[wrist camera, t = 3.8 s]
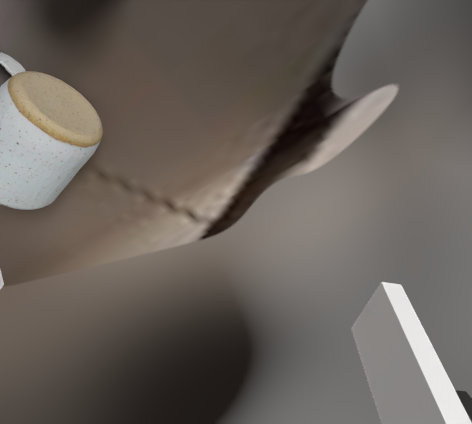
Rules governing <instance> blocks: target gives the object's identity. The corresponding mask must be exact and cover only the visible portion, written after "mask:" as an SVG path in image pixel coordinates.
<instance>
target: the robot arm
mask: <svg viewBox="0 0 472 424" xmlns="http://www.w3.org/2000/svg"><path fill="white" fill-rule="evenodd" d="M3 285H4V283H3V279H2V275H1V270H0V289H1V288H2V286H3ZM351 330H352V333H353V336H354V339H355V342H356V345H357V349H358V352H359V355H360V358H361V361H362V364H363V367H364V370H365V374H366V377H367V380H368V383H369V386H370V389H371V393H372V396H373V399H374V402H375V405H376V408H377V411H378V414H379V418H380V421H381V424H472V398H471V397H470V396H469V395H468V393H467V392H465V391H456V390H455V389H454V388H453V385H452V383H451V381H450V379H449V378H448V376H447V374H446V372H445V370H444V368H443V366H442V364H441V362H440V360H439V358H438V356H437V354H436V352H435V350H434V348H433V346H432V344H431V342H430V340H429V339H428V337H427V335H426V333H425V331H424V329H423V327H422V325H421V323H420V321H419V319H418V317H417V315H416V313H415V311H414V309H413V307H412V305H411V304H410V301H409V299H408V297H407V296H406V294H405V292H404V290H403V288H402V286H401V285H398V284H392V283H385V282H381V283H380V285H379V286H378V288H377V289H376V291H375V293H374V294H373V296H372V297H371V299H370V300H369V302H368V303H367V305H366V306H365V308H364V309H363V311H362V313H361V314H360V316H359V317H358V319H357V320H356V322H355V323H354V325H353V326H352V328H351Z"/></svg>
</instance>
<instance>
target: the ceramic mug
mask: <svg viewBox="0 0 472 424" xmlns="http://www.w3.org/2000/svg"><path fill="white" fill-rule="evenodd" d="M0 64H1V65H2V66H3V67H5V69H6V70H7V71H8V72H9V73H10V74H11V76H12V77H11V78H9V79H8V80H7V81H6V82H5V83H4V84H2V85H1V87H0V204H2V205H5V206H8V207H11V208H15V209H22V210H32V209H39V208H42V207H45V206H47V205H49V204H50V203H52V202H53V201H54V200H55V199H56V198H57V196H58V195H59V194H60V193H61V192H62V190H63V189H64V188H65V187H66V186H67V185H68V183H69V182H70V181H71V180H72V179H73V177H74V176H75V175H76V173H77V172H78V171H79V170H80V169H81V168H82V166H83V165H84V164H85V163H86V162H87V161H88V160H89V159H90V157H91V156H92V155H93V154H94V152H95V150H96V149H97V147H98V145H99V143H100V141H101V139H102V135H103V129H102V124H101V121H100V118H99V116H98V114H97V112H96V111H95V109H94V108H93V106H92V105H91V104H90V103H89V102H88V101H87V100H86V99H85V98H84V97H83V96H82V95H81V94H80V93H79V92H78V91H76V90H75V89H74V88H72V87H71V86H69V85H68V84H66V83H65V82H63V81H61V80H60V79H57V78H55V77H53V76H51V75H48V74H45V73H41V72H33V71H25V69H24V68H23V67H22V66H21V64H20V63H18V62H17V61H16V60H14V59H13V58H12V57H10V56H8V55H6V54H4V53H1V52H0Z"/></svg>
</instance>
